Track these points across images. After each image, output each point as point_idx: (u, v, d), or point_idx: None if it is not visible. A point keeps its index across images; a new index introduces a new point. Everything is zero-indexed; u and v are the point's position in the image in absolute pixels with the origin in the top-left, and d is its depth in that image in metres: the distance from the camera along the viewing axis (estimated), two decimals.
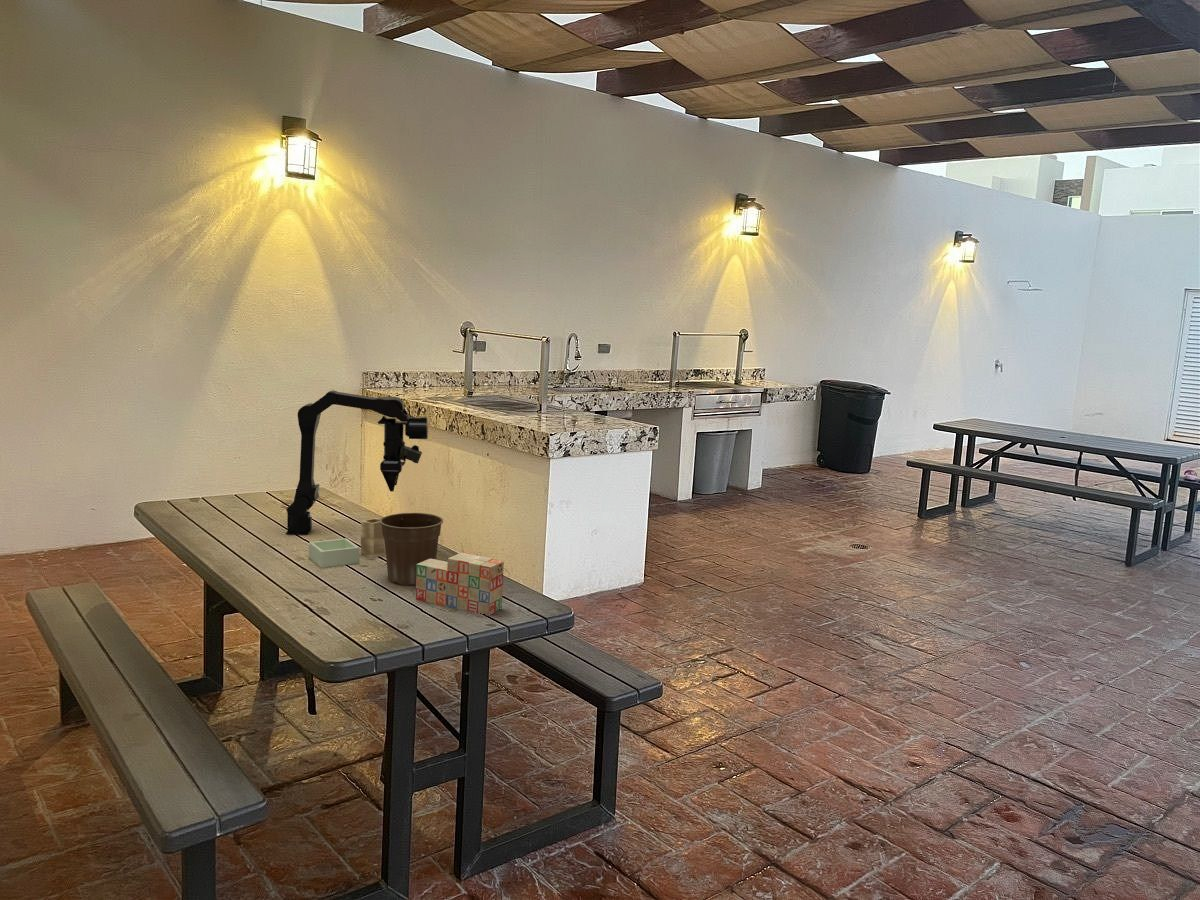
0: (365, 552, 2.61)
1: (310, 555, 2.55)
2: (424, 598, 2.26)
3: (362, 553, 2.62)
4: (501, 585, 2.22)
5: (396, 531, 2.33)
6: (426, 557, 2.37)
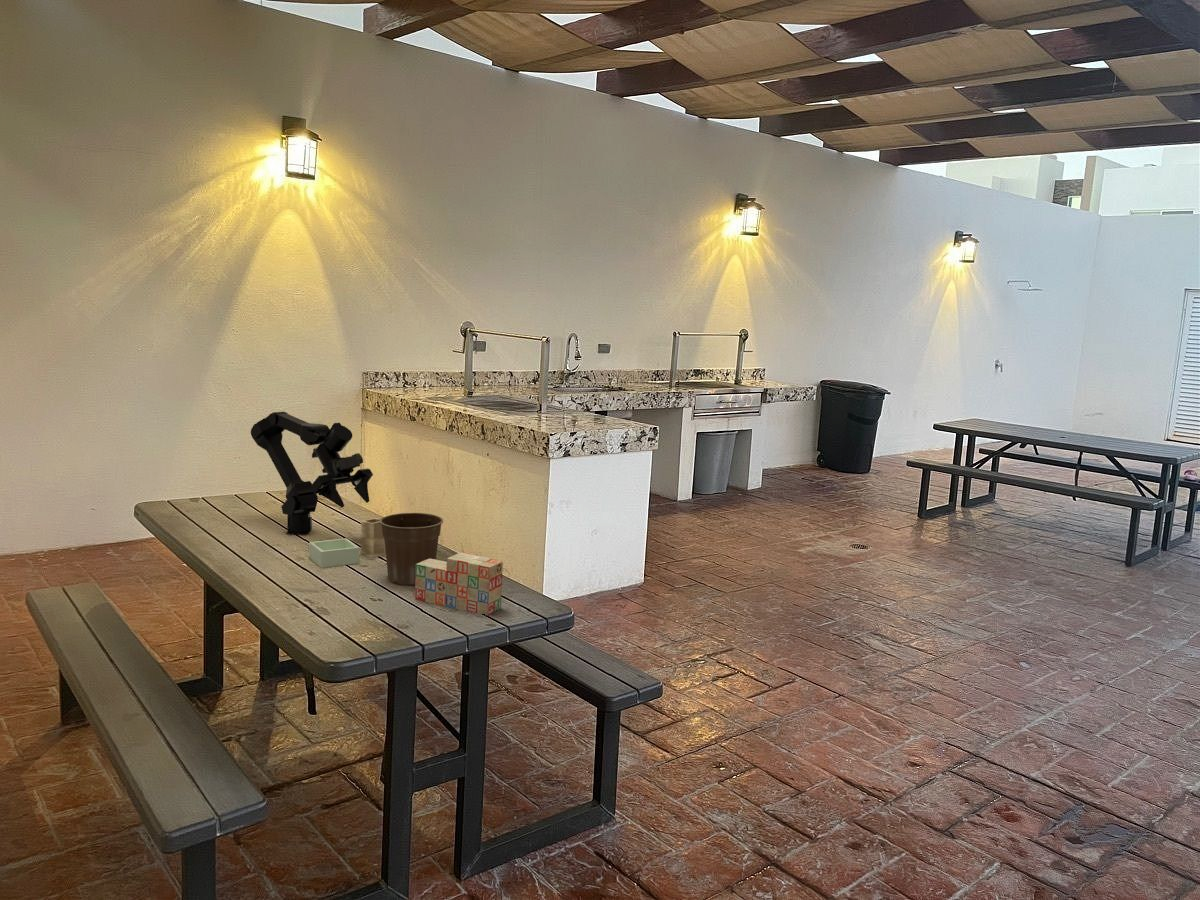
0: (365, 552, 2.61)
1: (310, 555, 2.55)
2: (423, 598, 2.26)
3: (362, 553, 2.62)
4: (500, 585, 2.22)
5: (396, 531, 2.33)
6: (426, 557, 2.37)
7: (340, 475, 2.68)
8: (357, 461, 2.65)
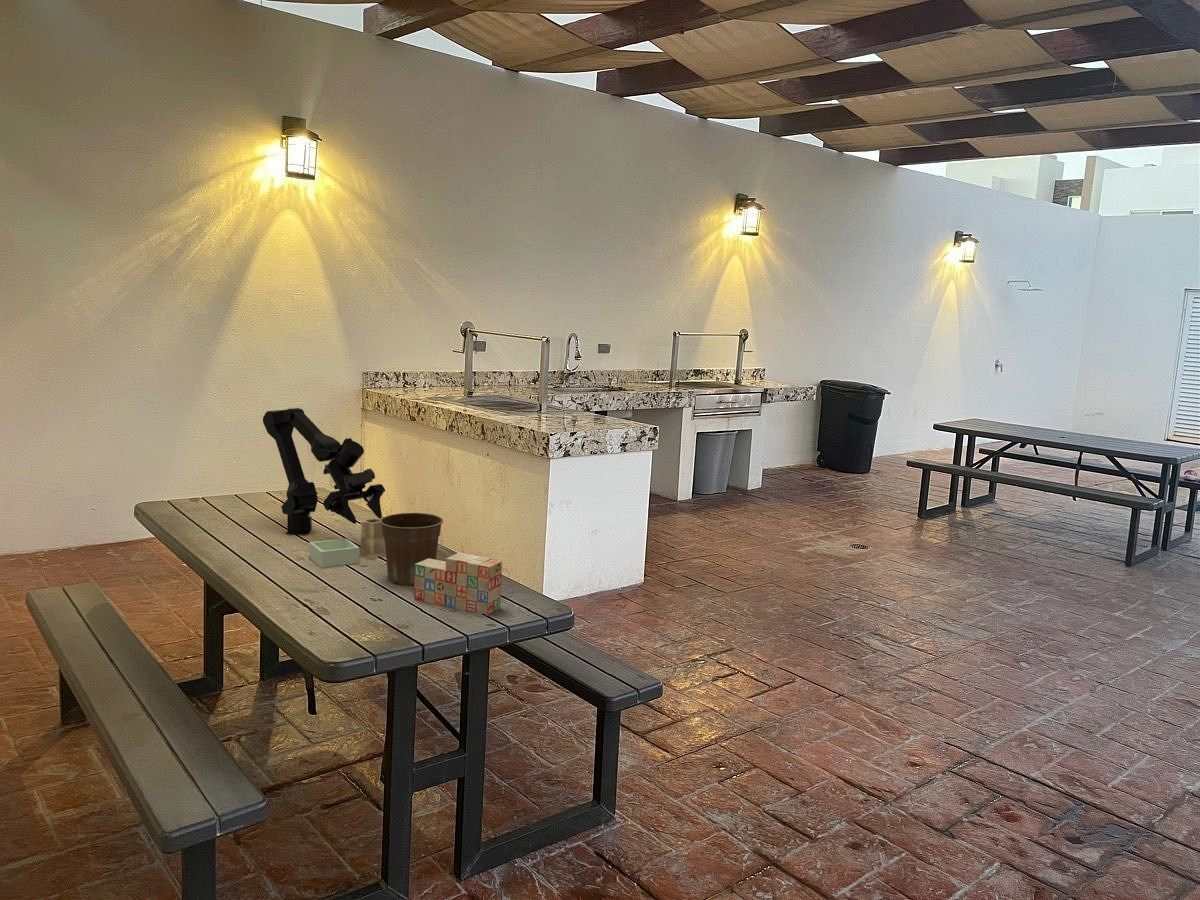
0: (365, 552, 2.61)
1: (310, 555, 2.55)
2: (422, 598, 2.26)
3: (362, 553, 2.62)
4: (499, 585, 2.22)
5: (396, 531, 2.33)
6: (426, 557, 2.37)
7: (352, 491, 2.65)
8: (369, 477, 2.63)
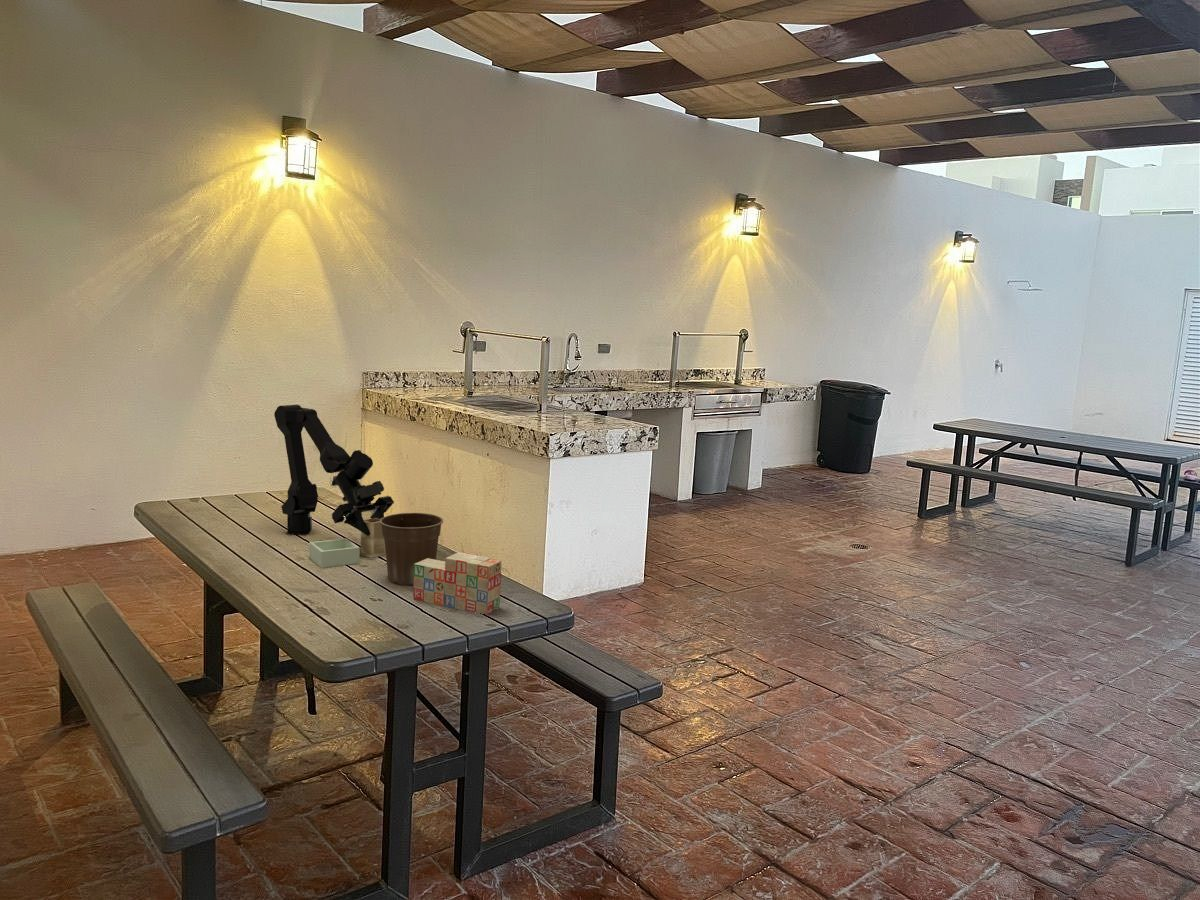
0: (365, 552, 2.61)
1: (310, 555, 2.55)
2: (422, 598, 2.26)
3: (362, 553, 2.62)
4: (499, 584, 2.22)
5: (396, 531, 2.33)
6: (426, 557, 2.37)
7: (361, 503, 2.63)
8: (378, 489, 2.61)
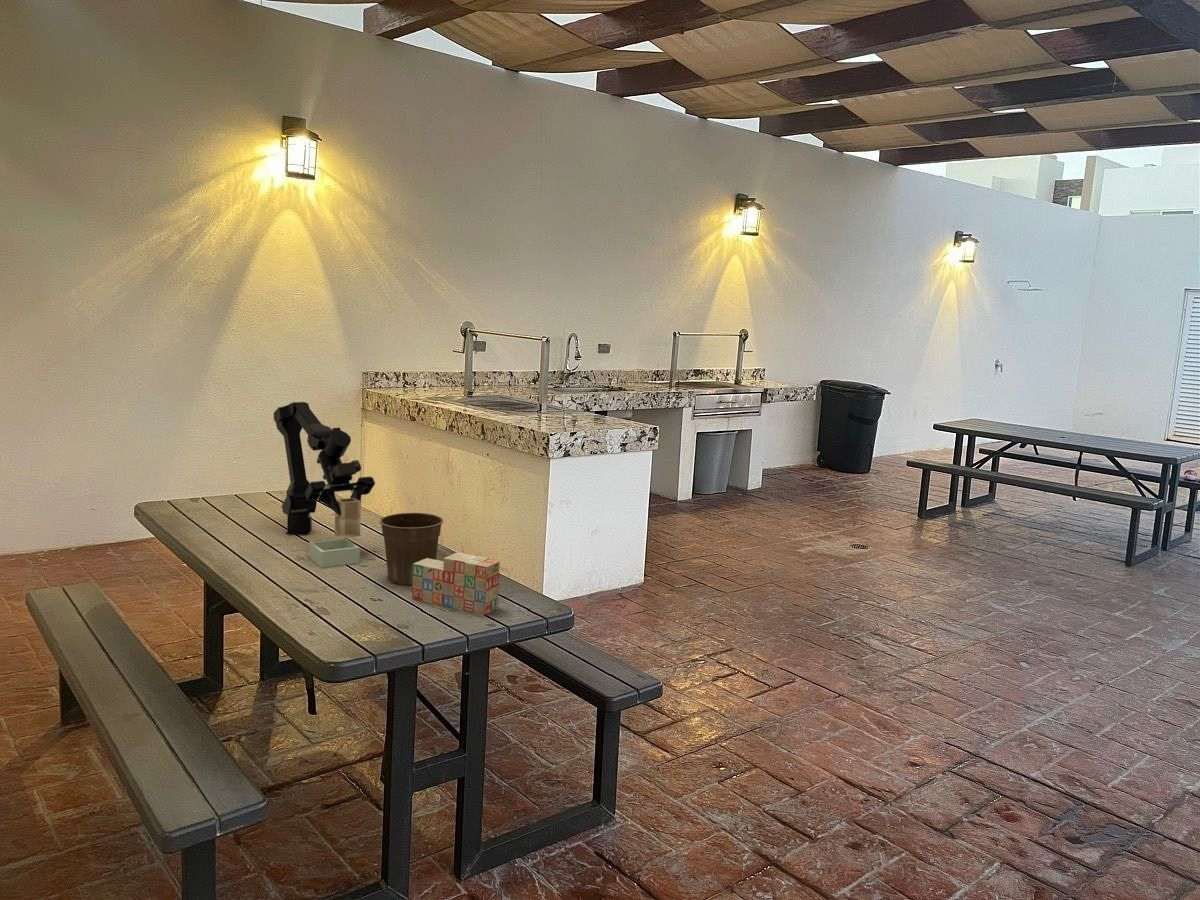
0: (338, 532, 2.55)
1: (310, 555, 2.55)
2: (420, 598, 2.26)
3: (335, 532, 2.56)
4: (497, 585, 2.22)
5: (396, 531, 2.33)
6: (426, 557, 2.37)
7: (338, 482, 2.58)
8: (352, 468, 2.54)
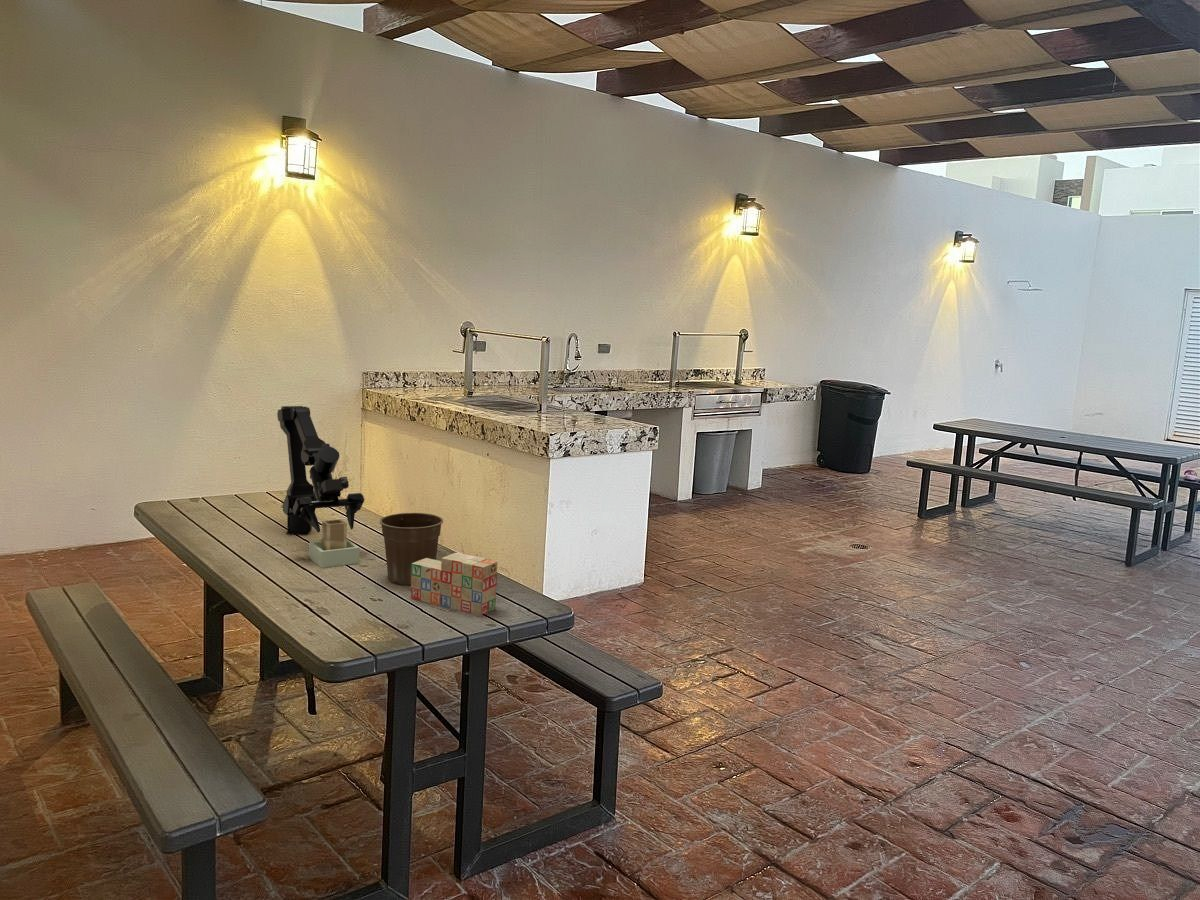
0: None
1: (310, 555, 2.55)
2: (419, 597, 2.26)
3: None
4: (495, 585, 2.21)
5: (396, 531, 2.33)
6: (426, 557, 2.37)
7: (327, 498, 2.57)
8: (339, 485, 2.52)
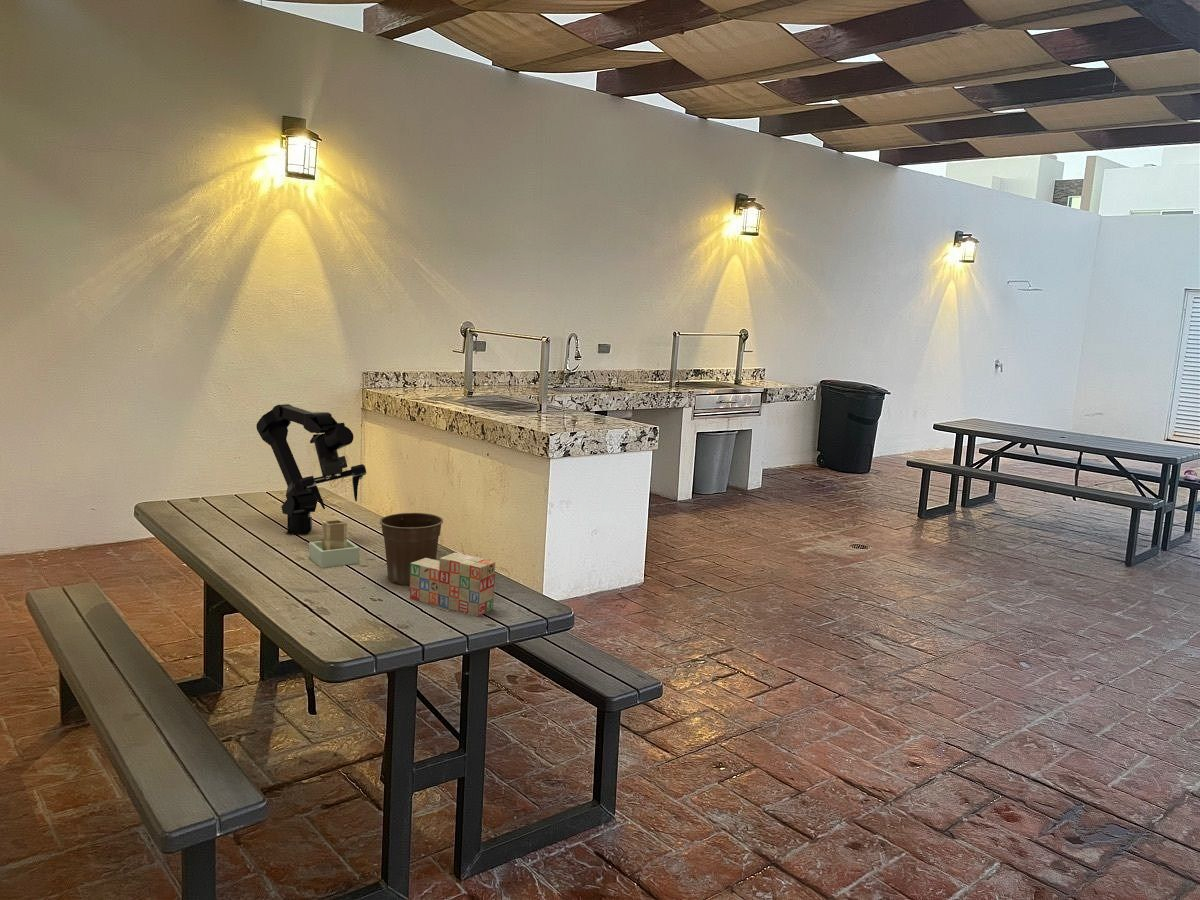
0: None
1: (310, 555, 2.55)
2: (418, 597, 2.26)
3: None
4: (492, 586, 2.21)
5: (396, 531, 2.33)
6: (426, 557, 2.37)
7: None
8: (337, 469, 2.62)
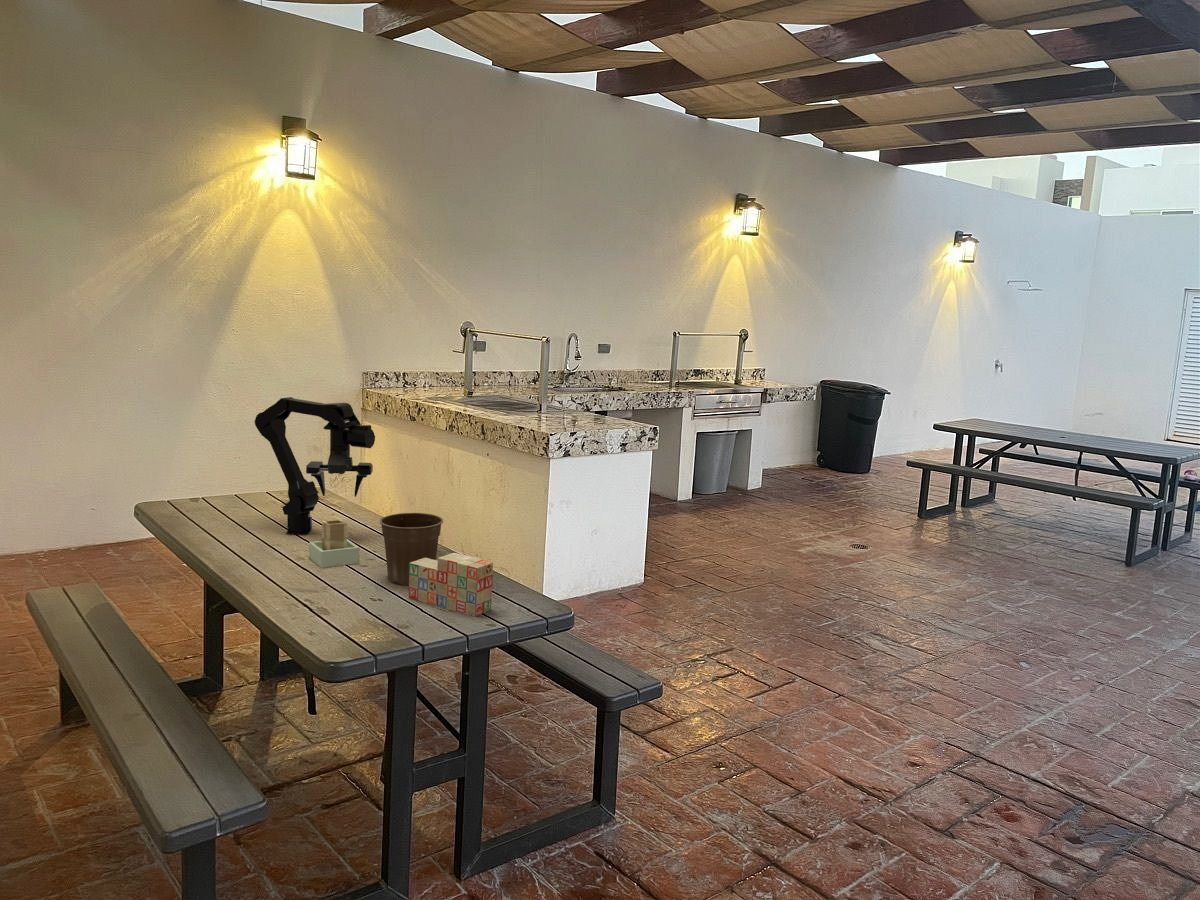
0: None
1: (310, 555, 2.55)
2: (416, 597, 2.26)
3: None
4: (490, 586, 2.20)
5: (396, 531, 2.33)
6: (426, 557, 2.37)
7: None
8: (340, 470, 2.67)
